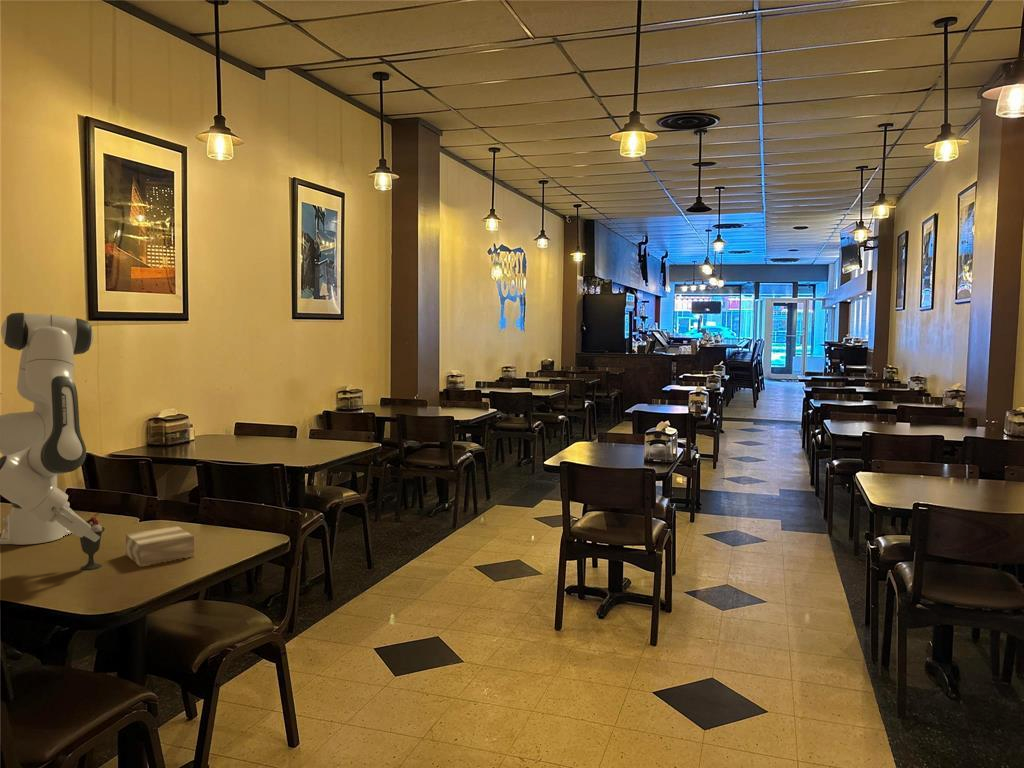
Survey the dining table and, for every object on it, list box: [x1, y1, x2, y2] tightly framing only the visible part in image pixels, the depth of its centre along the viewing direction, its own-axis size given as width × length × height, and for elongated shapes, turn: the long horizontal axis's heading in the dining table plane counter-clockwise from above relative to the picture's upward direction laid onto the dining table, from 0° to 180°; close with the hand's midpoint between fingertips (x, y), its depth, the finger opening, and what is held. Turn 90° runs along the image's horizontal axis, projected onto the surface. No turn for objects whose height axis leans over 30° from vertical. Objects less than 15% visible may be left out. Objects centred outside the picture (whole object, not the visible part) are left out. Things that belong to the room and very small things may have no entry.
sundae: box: [79, 511, 105, 571], centre depth 193 cm, size 7×7×15 cm
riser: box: [125, 525, 195, 568], centre depth 204 cm, size 14×14×6 cm
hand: (92, 535), depth 193 cm, fingers open, 8 cm apart
